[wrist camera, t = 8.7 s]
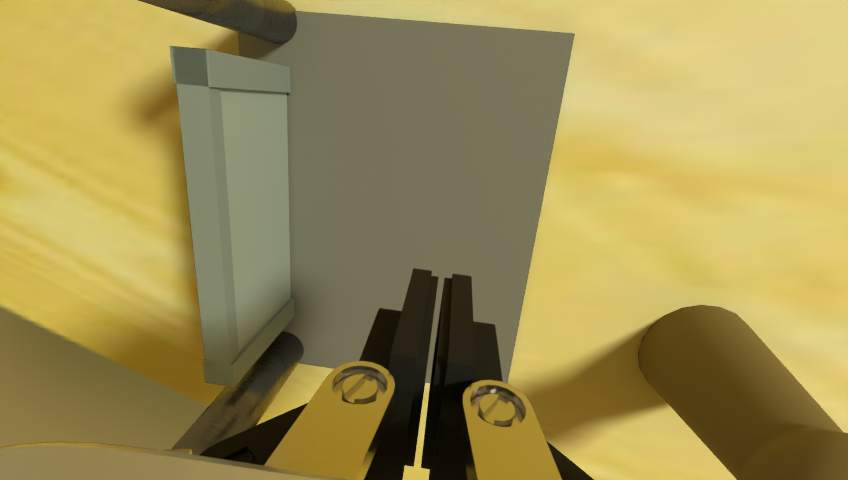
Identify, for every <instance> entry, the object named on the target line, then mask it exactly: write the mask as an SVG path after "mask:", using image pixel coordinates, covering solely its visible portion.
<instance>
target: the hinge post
mask: <svg viewBox="0 0 848 480" xmlns="http://www.w3.org/2000/svg"><path fill="white" fill-rule="evenodd" d="M139 1H142V2H145V3H148V4H151V5H155V6H158V7H161V8H164V9H167V10H170V11H174V12H177V13H180V14H183V15H186V16H189V17H193V18H196V19H199V20H202V21H205V22H208V23H212V24H215V25H218V26H221V27H224V28H228V29H231V30H234V31H237V32H240V33H243V34H247V35H250V36H253V37H256V38H259V39H262V40H266V41H269V42H272V43H275V44H283V43H286V42H288V41H289V40H291V39H292V37H293V36H294V34H295V32H296V29H297V17H296V14H295V11H296V10H295V8H294V7H293V6H292V5H291V4H290V3H289V2H287V1H285V0H139Z"/></svg>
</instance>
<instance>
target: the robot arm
mask: <svg viewBox="0 0 848 480" xmlns="http://www.w3.org/2000/svg"><path fill="white" fill-rule="evenodd" d="M431 275H432V271H430V270H423V269H416V268H413V271H412V275H411V279H410V282H409V286H408V290H407V294H406V297H405V301H404V305H403V308H402V311H398V310H391V309H384V308H379V310H378V312H377V315H376V317H375V320H374V323H373V325H372V328H371V331H370V333H369V336H368V339H367V341H366V344H365V346H364V349H363V352H362V354H361V357H360V360H359V361H354V362H349V363H346V364H342V365H340V366H339V367H337V368H335V369H334V370H333V371H332V372H331V373H330V374H329V375H328V376H327V377H326V379H325V380H324V381H323V383H322V384H321V386H320V387H319V389H318V390H317V391H316V393H315V394H314V396H313V397H312V398H311V400H310V401H309V403H307V404H304V405H302V406H300V407H298V408H295V409H293V410H291V411H288V412H286V413H284V414H282V415H279V416H277V417H275V418H272V419H270V420H268V421H266V422H263V423H261V424H259V425H256V426H254V427H252V428H250V429H247V430H245V431H243V432H240V433H238V434H236V435H234V436H231V437H229V438H227V439H224V440H222V441H220V442H218V443H216V444H214V445H213V446H211V447H209V448H207V449H206V450H204V451H203V452H202V453H201V454H200V455H192V450H191V449H174V450H155V449H147V448H139V447H130V446H121V445H111V444H102V443H82V442H46V443H28V444H17V445H11V446H4V447H0V480H402V478H403V472H404V465H407V466H413V467H414V460H415V452H416V445H417V437H418V430H419V423H420V415H421V408H422V400H423V393H424V386H425V378H426V371H427V363H428V356H429V348H430V340H431V332H432V325H433V317H434V309H435V301H436V293H437V285H438V278H439V277H438V276H431ZM421 468H426V469H430V474H429V480H594V479H592V478H591V477H590V476H589V475H588V474H586V473H585V472H584V471H583V470H581V469H580V468H579V467H578V466H577V465H575V464H574V463H573V462H572V461H570V460H569V459H568V458H567V457H566V456H564V455H563V454H562V453H561V452H559V451H558V450H557V449H556V448H555V447H553V446H552V445H551V444H550V443H548V442H547V441H546V439H545V436H544V434H543V432H542V429H541V427H540V424H539V422H538V419H537V417H536V414H535V412H534V409H533V407H532V405H531V403H530V402H529V400H528V398H527V397H526V396H525V395H524V394H523V393H522V392H521V391H519V390H518V389H516V388H514V387H513V386H511V385H509V384H506V383H503V380H502V372H501V365H500V357H499V350H498V342H497V335H496V328H495V325H494V324H489V323H482V322H475V321H473V300H472V277H471V276H467V275H460V274H452V278H444V285H443V292H442V299H441V306H440V313H439V320H438V328H437V335H436V342H435V349H434V356H433V364H432V373H431V382H430V391H429V400H428V409H427V418H426V427H425V436H424V445H423V454H422V464H421Z"/></svg>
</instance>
